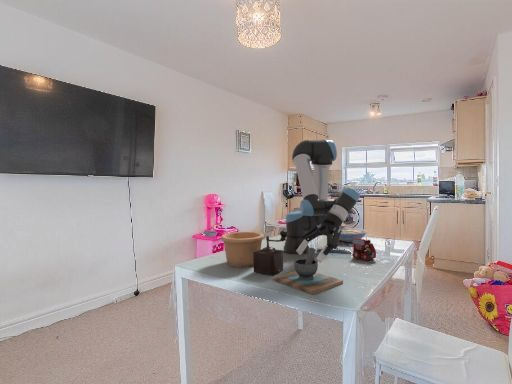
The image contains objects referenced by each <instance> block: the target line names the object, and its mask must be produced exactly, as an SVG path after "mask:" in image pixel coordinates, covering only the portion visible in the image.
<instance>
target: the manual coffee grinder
mask: <svg viewBox="0 0 512 384" xmlns="http://www.w3.org/2000/svg"><path fill="white" fill-rule="evenodd" d="M279 235H280V239H270V238H269V237H270V236H269V235H266V238H265V241H266V247H263V248H261V250H259V251H256V252H253V262H254V266H253V273H255V272H256V273H255V274H259V273H260V275H265V276H270V275H271V277H274V276H275V275H277V274H279V273H280V272H282V271H283V270H284V249H283V250H282V249H276V248H275V247H273V246H270V242H276V243H280V242H284V241H286V237H287V235H288V233H287V232H286V230H281V231H280V232H279Z"/></svg>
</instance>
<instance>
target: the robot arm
mask: <svg viewBox="0 0 512 384" xmlns="http://www.w3.org/2000/svg"><path fill="white" fill-rule="evenodd" d="M337 152H338V151H337V146H336V143H335V142H334V141H333V140H332V139H305V140H302V141H300V142H299V143H298V144H297V145H296V146H295V147H294V149H293V150H292V155H291V160H292V164H293V166H295V170H296V173H297V179H298V182H299V186H300V191H301V195H302V200H301V201H300V204H299V208H300V210H294V211H290V212H288V213H287V214H286V215H285V229H286V230H285V231H286V232H287V233H288V235H287V237H286V241H285V240H284V241H285V242H284V246H283V253H287V254H293V255H300V256H301V255H302V254H303V255H304V254H307V253H309V248H310V246H309V244H310V242H311V241H312V240H315V239H316V238H318V237H319V236H320V237H322V236H326V245H324V246H323V248H322V249H321V251H320V252H319V254H318V255H317V256H316V261H317V262H318V263H320V264H321V263H322V262H323V261H324V260H325V257H326V256H328V255H329V253H330V252H331V250H337V249H338V246H339V240H340V239H339V236H340V233H341V231H342V230H341V229H340V227H342V226H343V225H342V224H343V223H344V222H345V221H346V219H347V217H348V216H349V214H350V212H351V211H352V210H353V209H354V207H355V206H356V204H357V203H358V201H359V199H360V197H361V194H360V193H359V191H358V190H357V189H355V188H354V187H350V186H348V187H345V189H344V190H343V191H342V192H341V194H340V195H339V196H338V197H337V198H332V199H331V198H330V199H329V197H328V196H329V179H330V167H331V166H332V165H333V162H334V161H336V159H337V157H338V153H337ZM312 167H313V171H312ZM333 233H334V234H333Z"/></svg>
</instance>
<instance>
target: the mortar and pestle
mask: <svg viewBox="0 0 512 384" xmlns="http://www.w3.org/2000/svg"><path fill="white" fill-rule="evenodd" d="M316 251H317V250H316V248H315V247H309V252H308V254H307V256H306V258H298V259H296V260H294V262H293V265H294V266H293V267H294V271H296V272H297V274H299V279H300V280H303V281H311V280H313V279H314V278H313V275H314V274H315V273H317V272H318V267H319V261H318V260H317V259H316V260H315V259H314V258H315V257H314V256H315V252H316Z"/></svg>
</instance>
